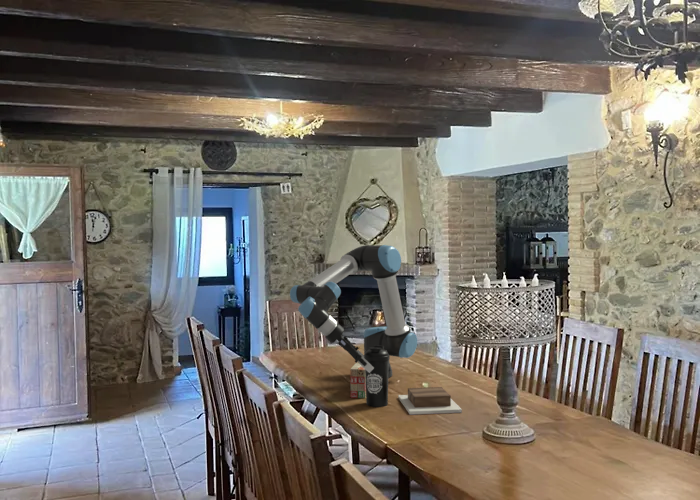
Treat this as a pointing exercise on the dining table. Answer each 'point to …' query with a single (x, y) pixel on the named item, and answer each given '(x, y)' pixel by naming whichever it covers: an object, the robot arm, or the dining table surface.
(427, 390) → the plinth
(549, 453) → the dining table surface
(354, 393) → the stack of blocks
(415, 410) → the base board
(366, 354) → the water bottle
